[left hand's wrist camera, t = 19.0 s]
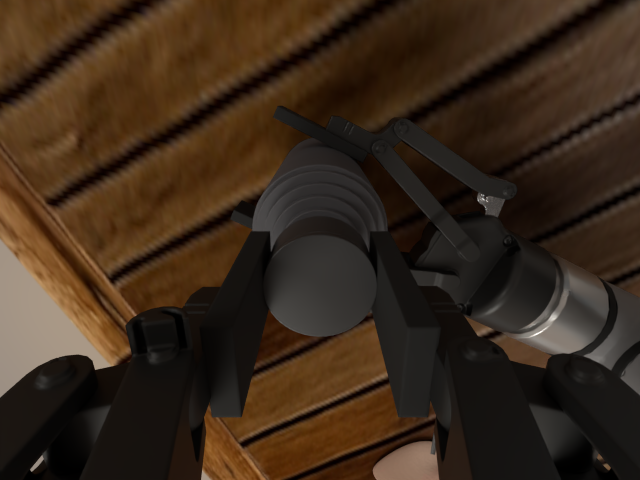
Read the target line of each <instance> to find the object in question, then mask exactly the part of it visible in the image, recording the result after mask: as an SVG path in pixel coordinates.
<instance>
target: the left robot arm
mask: <svg viewBox="0 0 640 480" xmlns="http://www.w3.org/2000/svg"><path fill="white" fill-rule="evenodd" d="M270 254H271V241H270V231H251V232H250V234H249V236H248V238H247V240H246V242H245V243H244V245H243V247H242V249H241V251H240V253H239V255H238V256H237V258H236V260H235V262H234V264H233V266H232V267H231V269H230V271H229V273H228V275H227V277H226V279H225V280H224V282H223V284H222V286H221V287H202V288H201V289H199V290H198V291H196V292H195V293H193V294H192V295H191V296H190V298H189V299H188V300H187V302H186V303H185V306H183V308H178V307H159V308H154V309H150V310H147V311H145V312H142V313H140V314H138V315H137V316H135V317H133V318H132V319H131V320H130V321H129V322H128V323H127V324H126V325H125V326H126V330H127V335H128V339H129V343H130V348H131V352H132V359H131V361H130V362H128V363H125V364H121V365H117V366H112V367H107V368H103V369H98V370H95V368H94V365H93V361H92V360H91V359H90V358H89V357H87V356H83V355H69V356H63V357H59V358H55V359H52V360H50V361H48V362H46V363H44V364H42V365H40V366H38V367H36V368H35V369H34V370H32V371H31V372H29V373H28V374H27V375H25V376H24V377H23V378H22V379H21V380H20V381H19V382H17V383H16V384H15V385H14V386H13V387H12V388H11V389H9V390H8V391H7V392H6V393H5V394H4V395H3V396H2V397H1V398H0V480H201V474H202V465H203V456H204V447H205V437H206V427H205V421H204V416H205V413H206V410H207V408H208V405H209V402H210V406H211V413H212V417H242V414H243V410H244V406H245V402H246V398H247V394H248V390H249V386H250V382H251V378H252V374H253V370H254V366H255V362H256V358H257V354H258V350H259V346H260V342H261V338H262V334H263V330H264V326H265V322H266V318H267V314H268V310H269V308H268V306H267V304H266V301H265V298H264V290H263V276H264V272H265V269H266V266H267V263H268V260H269V257H270ZM369 254H370V257H371V260H372V263H373V266H374V269H375V272H376V276H377V291H376V298H375V301H374V304H373V306H372V308H371V309H372V313H373V317H374V321H375V325H376V329H377V333H378V337H379V341H380V345H381V349H382V353H383V357H384V361H385V365H386V369H387V373H388V377H389V381H390V385H391V389H392V393H393V397H394V401H395V405H396V409H397V413H398V417H428V414H429V407H430V400H431V403H432V406H433V408H434V411H435V414H436V421H435V427H434V434H433V440H432V446H431V453H430V454H433V455H435V453H436V455H437V464H438V474H439V480H640V395H639V394H638V393H637V392H636V391H634V390H633V389H632V388H631V387H630V386H629V385H628V384H626V383H625V382H624V381H623V380H622V379H621V378H620V377H618V376H617V375H616V374H615V373H614V372H612V371H611V370H609V369H608V368H607V367H605V366H604V365H602V364H600V363H598V362H596V361H594V360H592V359H590V358H587V357H584V356H581V355H576V354H567V353H560V354H555V355H553V356H551V357H550V358H549V359H548V362H547V365H546V369H545V368H540V367H536V366H531V365H526V364H521V363H517V362H514V361H510V360H509V358H508V356H507V354H506V353H505V352H504V350H503V349H502V348H501V347H499V346H498V345H497V344H495V343H494V342H492V341H490V340H487V339H485V338H483V337H478V336H477V334H476V333H475V331H474V330H473V328H472V327H471V325H470V324H469V322H468V321H467V319H466V318H465V317H464V315H463V314H462V313H461V311H460V309H459V308H458V306H457V305H455V302H454V300H453V299H452V297H451V296H450V294H449V293H447V292H446V291H444V290H443V289H441V288H440V287H438V286H418V284H417V282H416V280H415V278H414V277H413V275H412V273H411V271H410V269H409V267H408V265H407V264H406V262H405V260H404V258H403V256H402V254H401V253H400V251H399V249H398V247H397V245H396V243H395V241H394V240H393V238H392V236H391V234H390V232H389V231H370V242H369ZM598 453H599V454H600V455H601V456H602V458H603V459H604V460H605V461H606V462H607V464H608V465H609V466H610V467H611V469H610V470H607V469H606V468H605V467H604V466H603V465H602V464H601V463H600V461H599V460H598V459H597V456H598ZM42 455H43V458H44V460H43V461H42V462H41V464H40V465H39V466H38V467H37V468H36V469H35V470H34V471H32V472H31V471H30V469H31V468H32V466H33V465H34V464H35V463H36V462H37V460H38V459H39V458H40V457H41V456H42Z"/></svg>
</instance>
